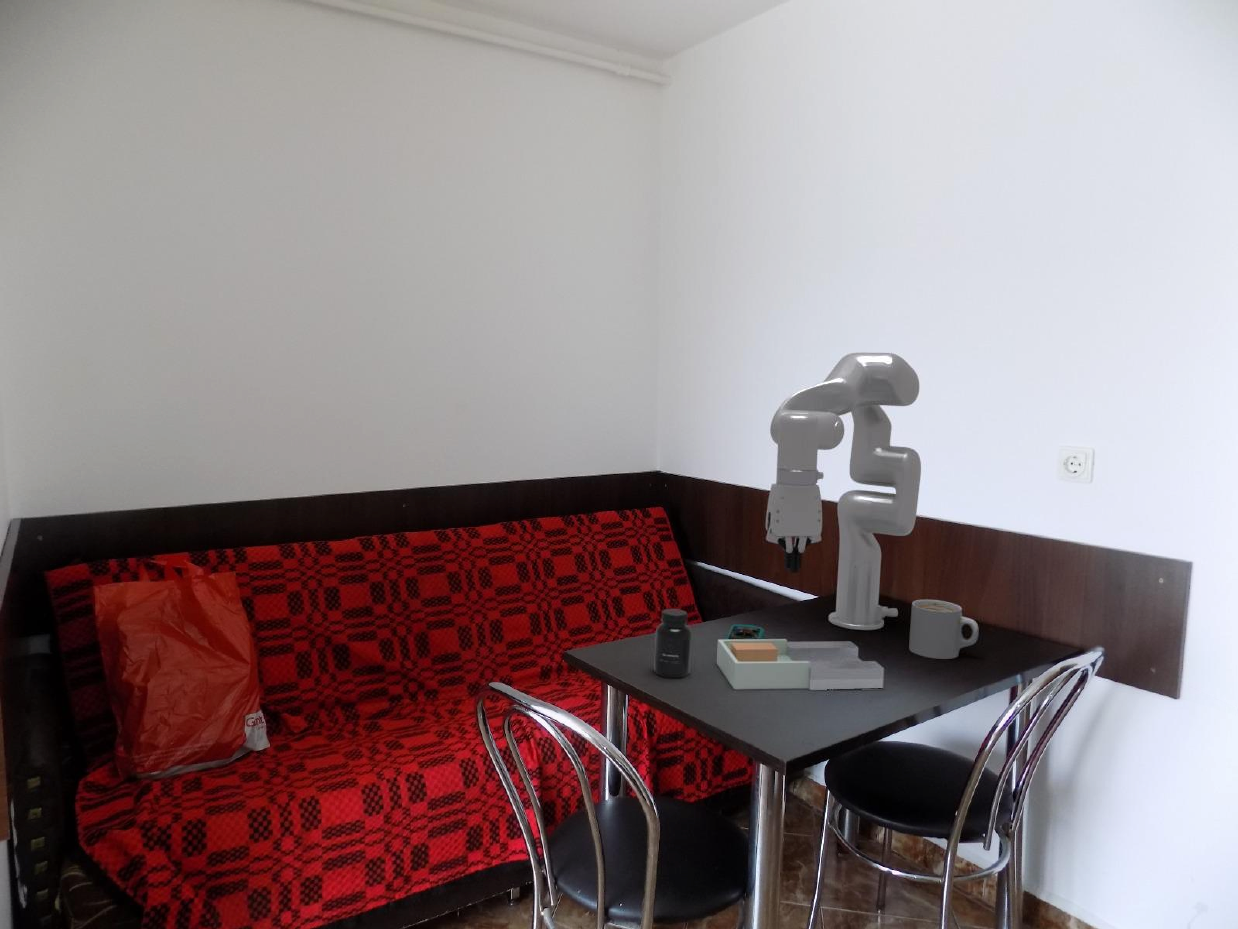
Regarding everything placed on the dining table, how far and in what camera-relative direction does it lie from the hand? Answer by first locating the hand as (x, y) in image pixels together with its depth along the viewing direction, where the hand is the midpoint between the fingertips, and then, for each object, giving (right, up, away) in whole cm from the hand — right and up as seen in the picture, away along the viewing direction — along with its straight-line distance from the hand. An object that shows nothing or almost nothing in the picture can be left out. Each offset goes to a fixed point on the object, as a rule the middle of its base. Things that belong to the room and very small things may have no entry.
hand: (792, 571), depth 164 cm
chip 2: (-6, -18, -2) cm, 19 cm away
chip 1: (-10, -18, -3) cm, 21 cm away
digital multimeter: (-7, -19, +17) cm, 26 cm away
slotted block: (+7, -20, 0) cm, 21 cm away
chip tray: (-6, -20, -2) cm, 21 cm away
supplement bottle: (-24, -20, -2) cm, 31 cm away
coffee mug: (+35, -20, +15) cm, 43 cm away
